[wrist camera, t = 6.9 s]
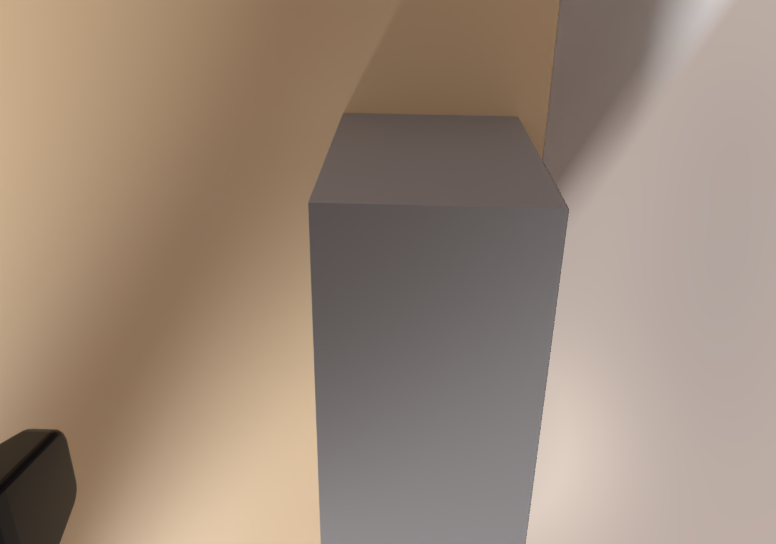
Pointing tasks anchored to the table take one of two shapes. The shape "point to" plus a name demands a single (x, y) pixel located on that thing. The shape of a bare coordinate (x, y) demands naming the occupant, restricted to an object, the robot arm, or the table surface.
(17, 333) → the mailer lid
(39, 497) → the robot arm
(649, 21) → the table surface
